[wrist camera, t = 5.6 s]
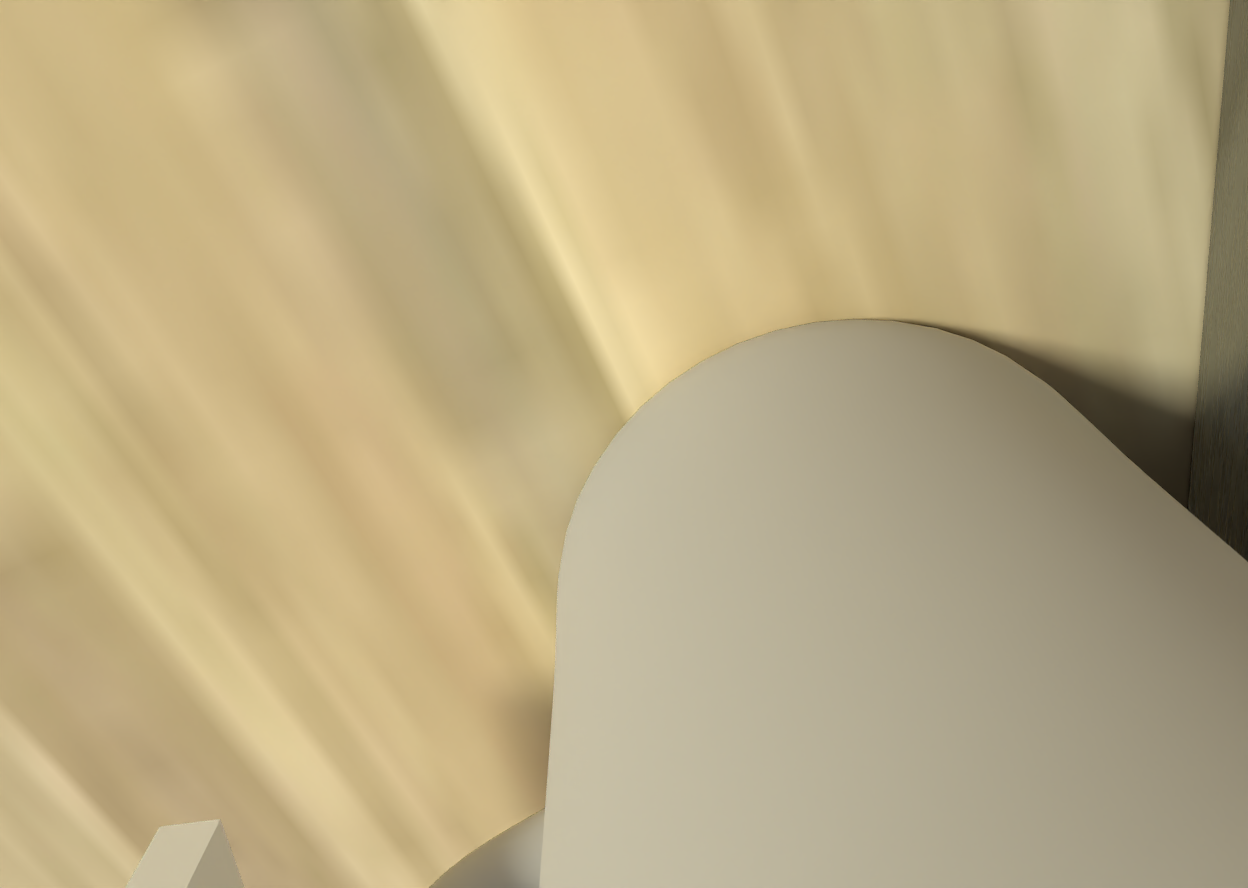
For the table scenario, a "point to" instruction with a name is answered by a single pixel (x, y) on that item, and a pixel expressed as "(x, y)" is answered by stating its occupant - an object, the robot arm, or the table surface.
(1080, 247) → the table surface
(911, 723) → the mug
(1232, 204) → the yellow and grey tray
